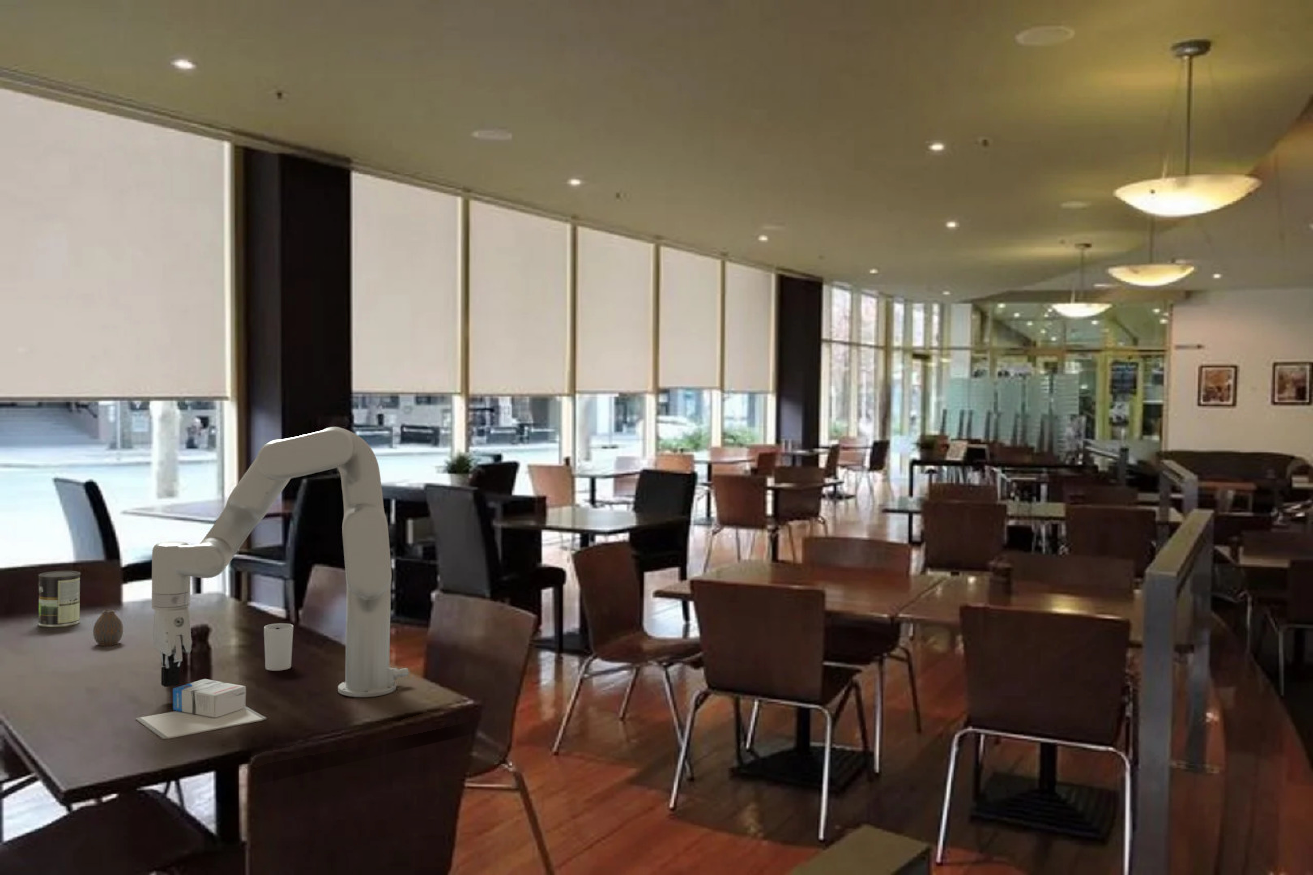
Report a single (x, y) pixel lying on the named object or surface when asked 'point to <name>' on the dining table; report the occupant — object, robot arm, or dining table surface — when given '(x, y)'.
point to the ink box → (209, 698)
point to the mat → (195, 722)
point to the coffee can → (59, 598)
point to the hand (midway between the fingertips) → (170, 685)
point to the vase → (108, 629)
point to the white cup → (278, 646)
